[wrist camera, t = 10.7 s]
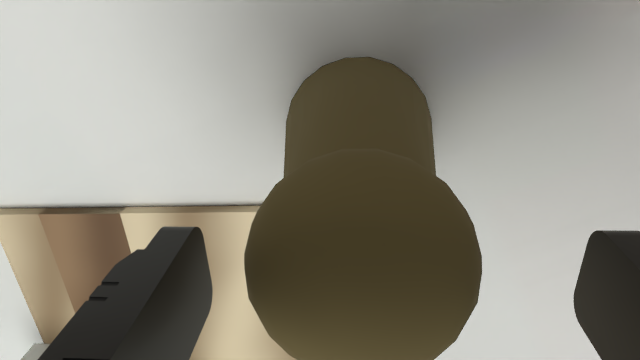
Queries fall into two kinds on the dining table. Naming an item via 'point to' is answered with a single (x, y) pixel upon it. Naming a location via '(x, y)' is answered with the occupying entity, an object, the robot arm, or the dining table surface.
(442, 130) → the dining table surface
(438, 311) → the cork
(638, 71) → the dining table surface
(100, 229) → the board
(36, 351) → the white box
